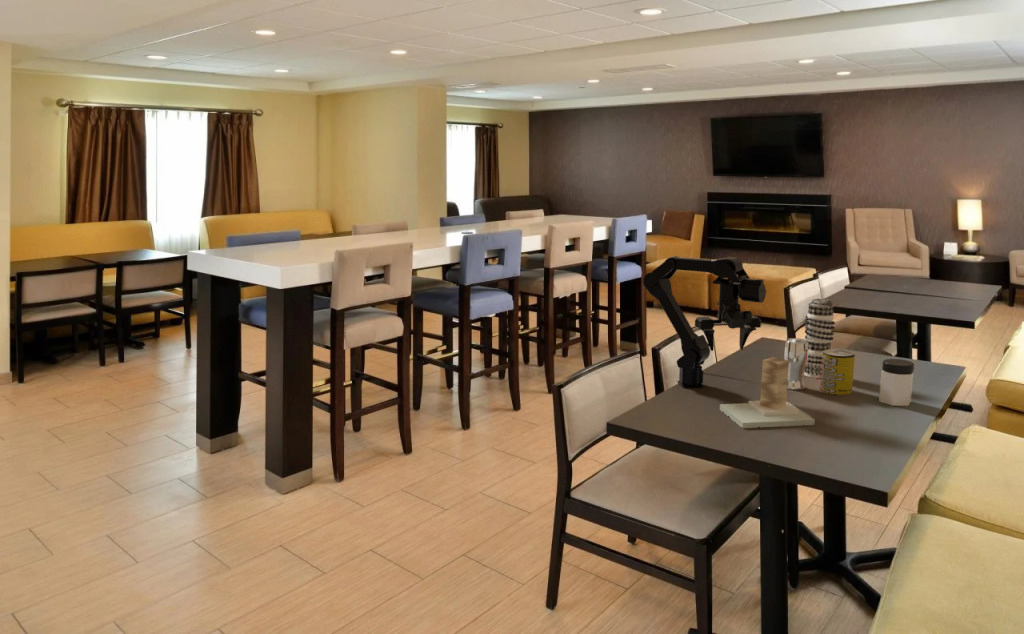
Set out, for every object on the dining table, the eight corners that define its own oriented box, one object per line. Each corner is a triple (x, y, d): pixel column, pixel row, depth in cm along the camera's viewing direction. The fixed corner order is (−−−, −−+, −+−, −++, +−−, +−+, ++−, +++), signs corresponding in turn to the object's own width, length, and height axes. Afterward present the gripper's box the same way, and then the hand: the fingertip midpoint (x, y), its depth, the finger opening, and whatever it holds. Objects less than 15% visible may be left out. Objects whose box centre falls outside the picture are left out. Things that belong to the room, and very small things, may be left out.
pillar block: (760, 405, 215) (762, 360, 212) (769, 401, 218) (772, 357, 216) (776, 409, 211) (779, 363, 209) (785, 405, 214) (788, 360, 212)
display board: (742, 428, 204) (742, 419, 203) (719, 409, 219) (720, 401, 219) (814, 425, 206) (815, 416, 206) (786, 406, 222) (787, 398, 221)
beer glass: (807, 391, 236) (811, 343, 233) (783, 390, 238) (787, 342, 235) (803, 384, 243) (807, 338, 240) (780, 383, 244) (783, 337, 241)
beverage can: (823, 385, 243) (826, 347, 241) (854, 389, 238) (857, 351, 236) (816, 391, 236) (819, 353, 233) (848, 396, 231) (851, 357, 228)
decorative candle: (795, 373, 256) (800, 299, 251) (813, 369, 261) (819, 296, 256) (818, 379, 248) (823, 303, 244) (837, 375, 253) (843, 300, 248)
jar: (918, 404, 223) (922, 364, 221) (898, 408, 220) (902, 367, 217) (891, 396, 231) (894, 357, 229) (871, 399, 228) (875, 360, 225)
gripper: (708, 305, 222) (706, 357, 225) (770, 303, 224) (767, 355, 227) (695, 298, 233) (693, 348, 236) (754, 296, 235) (751, 346, 238)
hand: (726, 350), depth 234 cm, fingers open, 9 cm apart
